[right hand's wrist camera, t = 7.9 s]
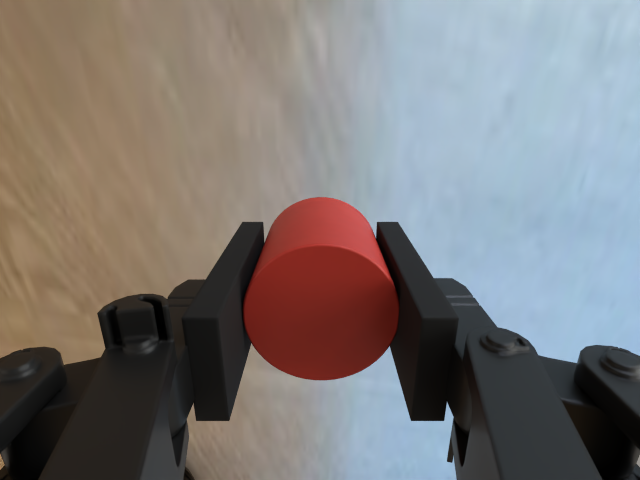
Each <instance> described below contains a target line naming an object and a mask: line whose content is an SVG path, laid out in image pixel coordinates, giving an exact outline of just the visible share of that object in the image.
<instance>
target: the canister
mask: <svg viewBox="0 0 640 480" xmlns="http://www.w3.org/2000/svg"><path fill="white" fill-rule="evenodd" d="M398 317H399V298H398V294H397V291H396V288H395V286H394V283H393V281H392V278H391V276H390V273H389V270H388V268H387V265H386V263H385V260H384V258H383V255H382V253H381V250H380V248H379V245H378V243H377V240H376V238H375V235H374V233H373V230H372V228H371V226H370V224H369V222H368V221H367V220H366V218H365V217H364V216H363V215H362V214H361V213H360V212H359V211H358V210H357V209H355V208H354V207H353V206H351V205H349V204H347V203H345V202H343V201H340V200H337V199H333V198H326V197H317V198H309V199H305V200H302V201H299V202H297V203H295V204H293V205H291V206H289V207H288V208H287V209H285V210H284V211H283V212H282V213H281V214H280V215H279V216H278V217H277V218H276V220H275V221H274V223H273V224H272V226H271V228H270V231H269V233H268V236H267V238H266V241H265V243H264V246H263V249H262V251H261V254H260V257H259V259H258V262H257V264H256V267H255V270H254V272H253V275H252V277H251V280H250V283H249V285H248V288H247V291H246V293H245V297H244V302H243V321H244V325H245V329H246V332H247V335H248V337H249V339H250V341H251V343H252V345H253V346H254V348H255V349H256V350H257V352H258V353H259V354H260V355H261V356H262V357H263V358H264V359H265V360H266V361H267V362H269V363H270V364H271V365H273V366H274V367H276V368H277V369H279V370H281V371H283V372H285V373H287V374H290V375H293V376H296V377H299V378H304V379H310V380H333V379H339V378H344V377H347V376H350V375H353V374H355V373H358V372H360V371H362V370H364V369H365V368H367V367H369V366H370V365H371V364H373V363H374V362H375V361H377V360H378V359H379V358H380V357H381V356H382V355H383V354H384V352H385V351H386V350H387V349H388V347H389V346H390V344H391V342H392V341H393V339H394V336H395V334H396V332H397V328H398Z"/></svg>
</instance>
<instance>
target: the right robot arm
mask: <svg viewBox="0 0 640 480" xmlns="http://www.w3.org/2000/svg"><path fill="white" fill-rule="evenodd" d="M376 240H377V243H378V245H379V248H380V250H381V253H382V255H383V258H384V260H385V263H386V265H387V268H388V270H389V273H390V276H391V278H392V281H393V283H394V286H395V288H396V291H397V294H398V298H399V317H398V328H397V332H396V334H395V336H394V339H393V341H392V342H391V344H390V348H391V352H392V355H393V359H394V362H395V366H396V369H397V373H398V376H399V380H400V384H401V387H402V391H403V394H404V398H405V401H406V405H407V408H408V412H409V415H410V419H411V421H444V417H445V411H446V404H447V402H448V405H449V407H450V409H451V412H452V414H453V416H454V419H453V425H452V431H451V438H450V444H449V451H448V458H447V462H452V461H453V455H454V462H455V469H456V477H457V480H640V467H639V466H638V465H637V464H636V463H637V460H638V457H639V455H640V356H638V355H636V354H633V353H631V352H630V351H628V350H625V349H622V348H620V349H619V348H618V347H613V346H602V345H593V346H587V347H585V348H584V349H583V350H581V351H580V355H579V358H578V362H577V363H573V362H567V361H562V360H557V359H552V358H547V357H543V356H539V355H538V354H537V352H536V350H535V348H534V347H533V346H532V345H531V343H530V342H529V341H528V340H527V339H525V338H523V337H522V336H520V335H519V334H517V333H514V332H512V331H509V330H507V329H503V328H498V327H497V326H496V325H495V324H494V322H493V321H492V320H491V318H490V317H489V316H488V315H487V313H486V312H485V311H484V310H483V308H482V307H481V306H479V303H478V302H477V301H476V299H475V298H473V295H472V294H471V293H470V292H469V290H468V289H467V288H466V287H465V286H464V285H462V284H461V283H459V282H457V281H456V280H454V279H452V278H433V276H432V275H431V273H430V272H429V270H428V269H427V267H426V266H425V264H424V262H423V261H422V259H421V258H420V256H419V255H418V253H417V251H416V250H415V248H414V247H413V245H412V244H411V242H410V241H409V239H408V237H407V236H406V234H405V233H404V231H403V230H402V228H401V226H400V225H399V223H398V222H377V233H376ZM263 246H264V228H263V222H242V224H241V225H240V227H239V228H238V230H237V232H236V233H235V235H234V236H233V238H232V239H231V241H230V243H229V244H228V246H227V247H226V249H225V250H224V252H223V253H222V255H221V257H220V258H219V260H218V261H217V263H216V264H215V266H214V268H213V269H212V271H211V272H210V274H209V275H208V277H207V279H206V280H187V281H185V282H184V283H182V284H180V285H179V286H177V287H175V288H174V290H173V291H172V292H171V294H170V295H169V296H168V299H166V298H164V297H163V296H160V295H156V294H138V295H132V296H127V297H124V298H121V299H118V300H115V301H113V302H111V303H110V304H108V305H106V306H104V307H103V308H102V309H101V310H100V311H99V312H98V313H97V314H98V318H99V322H100V326H101V331H102V335H103V339H104V344H105V348H106V349H105V351H104V353H103V355H102V357H100V358H96V359H92V360H87V361H82V362H77V363H72V364H66V365H64V364H63V361H62V357H61V354H60V352H58V351H57V350H56V349H55V348H49V347H36V348H27V349H23V350H19V351H15V352H13V353H11V354H9V355H7V356H5V357H2V358H0V454H1V457H2V459H3V462H4V464H5V465H4V467H3V468H2V469H1V470H0V480H183V478H184V470H185V463H186V455H187V447H188V440H189V432H188V425H187V417H188V414H189V412H190V410H191V407H192V405H193V402H194V409H195V416H196V421H229V420H230V416H231V413H232V409H233V406H234V402H235V399H236V395H237V392H238V388H239V384H240V381H241V377H242V374H243V370H244V367H245V363H246V360H247V356H248V353H249V349H250V346H251V341H250V339H249V337H248V335H247V332H246V329H245V325H244V321H243V302H244V297H245V293H246V291H247V288H248V285H249V283H250V280H251V277H252V275H253V272H254V270H255V267H256V264H257V262H258V259H259V257H260V254H261V251H262V249H263Z"/></svg>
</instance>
